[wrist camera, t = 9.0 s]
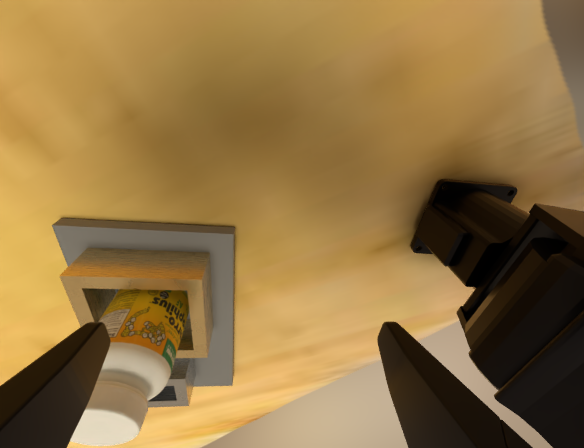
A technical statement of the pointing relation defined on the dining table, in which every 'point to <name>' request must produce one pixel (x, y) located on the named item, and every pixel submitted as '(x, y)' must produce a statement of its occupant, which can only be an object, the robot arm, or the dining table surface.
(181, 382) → the steel collar
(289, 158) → the dining table surface
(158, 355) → the supplement bottle
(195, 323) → the square wooden frame
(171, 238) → the fitting board
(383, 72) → the dining table surface
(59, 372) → the robot arm
